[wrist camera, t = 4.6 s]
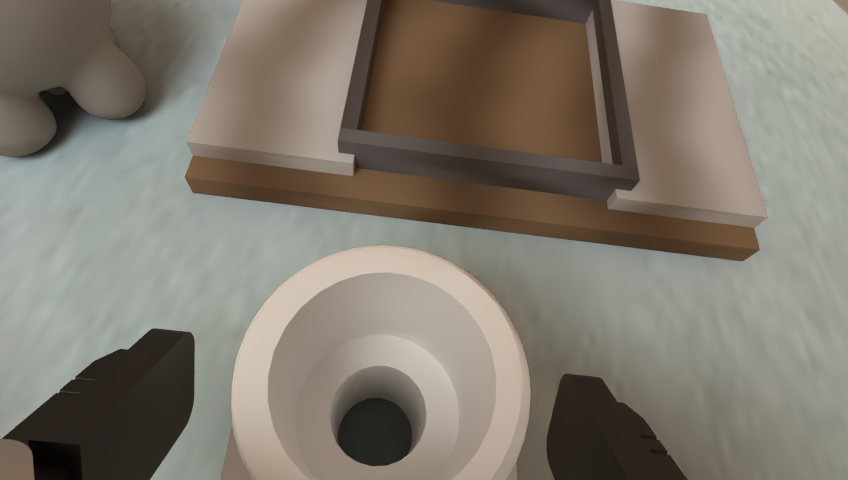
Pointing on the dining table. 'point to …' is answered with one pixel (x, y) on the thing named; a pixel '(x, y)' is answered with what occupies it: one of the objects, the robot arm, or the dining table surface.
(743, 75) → the dining table surface
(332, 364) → the pipe fitting
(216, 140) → the base
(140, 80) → the chubby cartoon animal
